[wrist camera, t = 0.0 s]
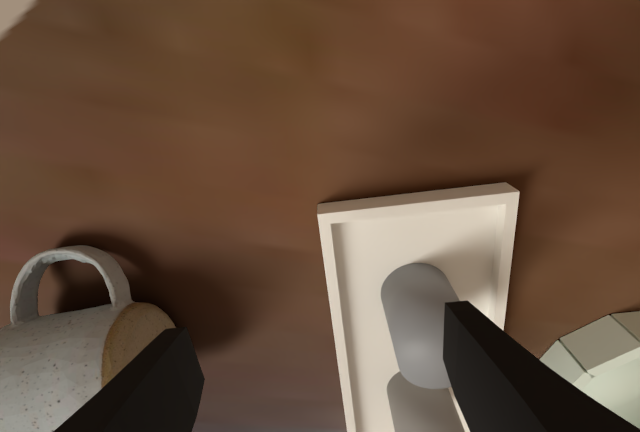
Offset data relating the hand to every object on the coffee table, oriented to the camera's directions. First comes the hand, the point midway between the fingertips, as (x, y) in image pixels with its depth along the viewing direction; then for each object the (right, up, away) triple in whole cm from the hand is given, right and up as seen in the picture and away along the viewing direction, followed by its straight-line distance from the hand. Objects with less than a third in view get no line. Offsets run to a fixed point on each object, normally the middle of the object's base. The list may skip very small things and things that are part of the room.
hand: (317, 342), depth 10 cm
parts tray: (+6, -4, +13) cm, 15 cm away
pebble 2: (+7, -8, +14) cm, 18 cm away
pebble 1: (+6, -1, +11) cm, 12 cm away
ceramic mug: (-13, -3, +13) cm, 18 cm away
